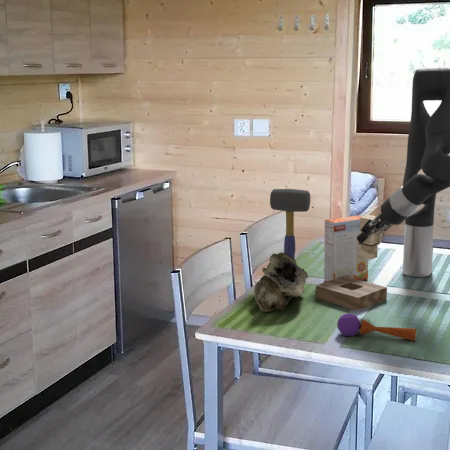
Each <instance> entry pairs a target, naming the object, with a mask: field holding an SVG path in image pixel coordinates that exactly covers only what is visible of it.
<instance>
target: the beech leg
mask: <svg viewBox="0 0 450 450" xmlns="http://www.w3.org/2000/svg"><path fill="white" fill-rule="evenodd" d="M362 216H363V215H362ZM376 216H377V215H376ZM376 216H375V215H371V214H370V215H369V214H367V215H364V216H363V217H360V233H359V235H360V234H361V233H362V232H361V229H362V228H363V226H364V225H365V224H366V223H367V221H368V220H371V221H372V220H373V219H375V217H376ZM375 229H376V230H377V228H376V227H375ZM380 240H381V233H380V231H379V232H378V233H373V234H372V235H371V236H370V237H368V238H367V239H366V240H365V241H364V242H363V243H359V244H360V245H361V258H366V259H368V260H373V259H376V258H378V249H379V248H378V247H379V245H380V244H381V241H380Z"/></svg>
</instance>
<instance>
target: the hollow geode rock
mask: <svg viewBox="0 0 450 450" xmlns="http://www.w3.org/2000/svg"><path fill="white" fill-rule="evenodd" d="M291 265H292V266H291ZM261 270H262V272H263V274H264V275H262V276H261V278H260V279H259V281H257V282H256V283H255V284H254V289H253V293H254V301H255V302H256V304H257V305H258V308H259V310H260V311H261V312H263V313H264V312H265V313H269V312H274V311H278V310H279V311H285V309H286V308H287V305H288V303H289V302H290V301H291V299H292V298H293V297H295V298H296V297H301V295H302V294H303V293H305V284H306V282H307V281H306V280H307V279H309V275H308V272H307V271H305V269H304V268H302V267H300V266H299V265H298V264H297V262H296V259H295V258H294V259H293V258H292V257H291V256H289V255H288V254H286V253H284V252H279V253H272V254H271V256H269V263H268V265H267V266H266V267H263V268H262V269H261Z"/></svg>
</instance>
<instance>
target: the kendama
mask: <svg viewBox="0 0 450 450" xmlns="http://www.w3.org/2000/svg"><path fill="white" fill-rule="evenodd" d="M336 325H337V329H338V331H339V332H340V334H341V335H344V336H345V337H354V336H355V335H357V334H360V335H361V336H362V335H364V334H368V333H372V332H377V333H380V334H381V333H382V334H386V335H390V336H392V337H396V338H400V339H404V340H408V341H412V342H415V341H416V337H417V328H414V327H413V328H412V327H411V328H410V327H389V326H386V327H385V326H375V325H373V324H371V323H370V322H368V321H367V320H365V319H364V318H362V319H361V321H360V318H359V317H358V316H357V315H355V314H354V313H349V312H346V313H344V314H342V315H340V317H339V319H338V320H337V323H336Z"/></svg>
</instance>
